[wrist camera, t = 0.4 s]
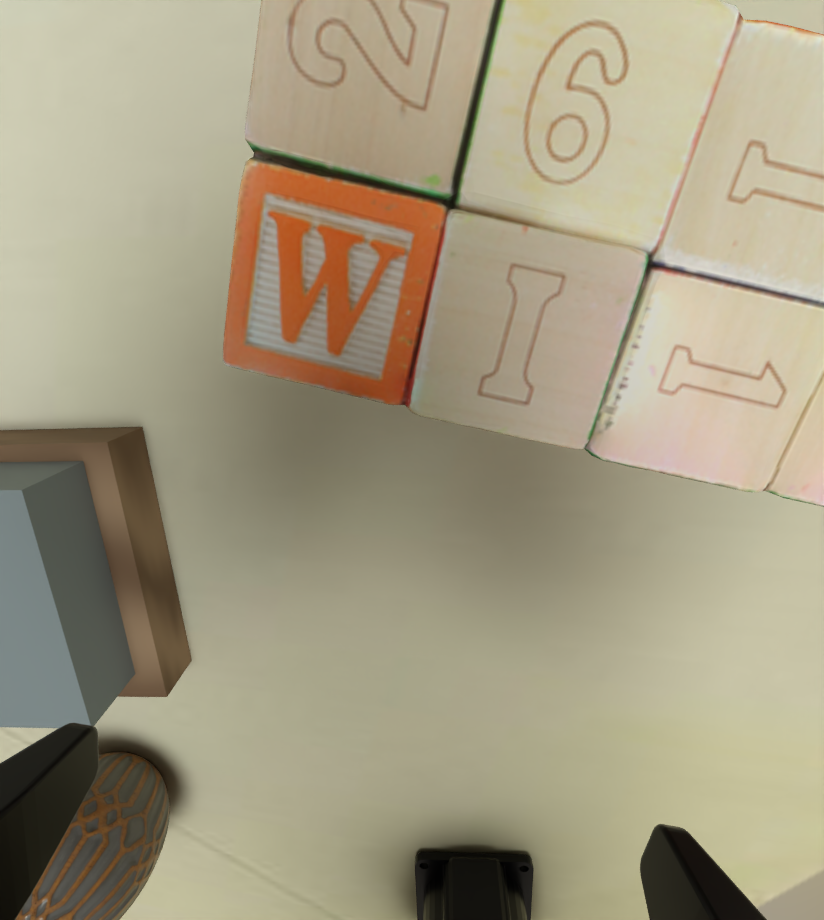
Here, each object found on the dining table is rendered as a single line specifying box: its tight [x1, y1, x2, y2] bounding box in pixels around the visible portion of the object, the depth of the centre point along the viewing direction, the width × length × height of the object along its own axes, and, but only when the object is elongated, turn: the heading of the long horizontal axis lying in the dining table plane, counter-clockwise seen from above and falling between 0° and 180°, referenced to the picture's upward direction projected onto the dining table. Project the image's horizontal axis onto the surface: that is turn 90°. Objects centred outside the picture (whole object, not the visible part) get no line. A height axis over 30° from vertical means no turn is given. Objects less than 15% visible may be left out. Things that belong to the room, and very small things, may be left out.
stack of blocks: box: [223, 0, 824, 507], centre depth 13 cm, size 21×6×12 cm, turn 77°
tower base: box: [0, 427, 192, 697], centre depth 23 cm, size 12×12×3 cm
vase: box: [15, 752, 170, 920], centre depth 23 cm, size 7×7×9 cm
